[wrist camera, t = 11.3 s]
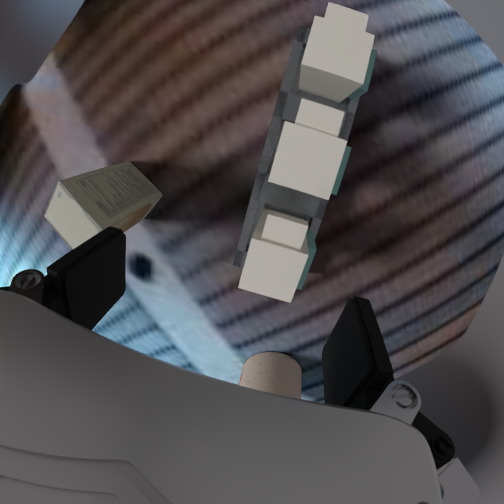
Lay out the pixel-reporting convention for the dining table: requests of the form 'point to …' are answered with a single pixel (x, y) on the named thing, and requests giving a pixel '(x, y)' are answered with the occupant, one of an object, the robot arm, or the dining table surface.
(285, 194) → the rail
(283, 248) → the finger loose
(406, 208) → the dining table surface
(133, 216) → the skincare box
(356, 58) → the cream block teal side
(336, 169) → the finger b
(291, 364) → the teacup with lid
